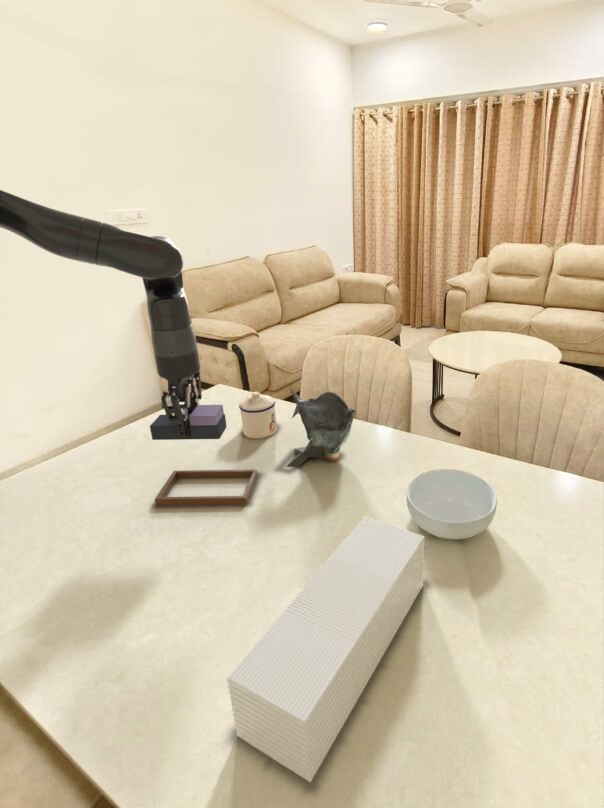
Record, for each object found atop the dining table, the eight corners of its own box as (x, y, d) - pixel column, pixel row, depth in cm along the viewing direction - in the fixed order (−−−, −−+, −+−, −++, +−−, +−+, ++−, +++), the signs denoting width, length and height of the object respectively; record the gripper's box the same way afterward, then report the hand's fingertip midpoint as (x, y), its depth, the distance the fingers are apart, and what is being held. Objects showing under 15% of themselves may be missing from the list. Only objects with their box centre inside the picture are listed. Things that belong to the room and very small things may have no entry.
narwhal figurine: (341, 483, 110) (337, 410, 103) (278, 472, 114) (271, 401, 108) (362, 451, 122) (360, 384, 116) (305, 442, 127) (300, 377, 120)
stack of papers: (310, 787, 56) (304, 722, 52) (237, 740, 60) (226, 677, 56) (423, 589, 82) (424, 536, 78) (366, 567, 86) (364, 516, 82)
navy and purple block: (219, 439, 96) (216, 415, 94) (152, 440, 96) (147, 416, 94) (226, 426, 101) (223, 404, 99) (162, 427, 101) (158, 405, 99)
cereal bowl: (392, 537, 93) (392, 506, 91) (423, 489, 107) (423, 461, 105) (482, 564, 87) (485, 531, 84) (502, 509, 101) (505, 479, 98)
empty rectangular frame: (156, 509, 102) (154, 499, 101) (175, 480, 112) (173, 470, 111) (247, 508, 102) (246, 497, 101) (258, 478, 112) (257, 469, 111)
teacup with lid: (278, 439, 129) (274, 398, 125) (242, 443, 127) (237, 402, 123) (276, 418, 140) (272, 380, 135) (243, 422, 138) (238, 383, 133)
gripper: (181, 362, 85) (196, 448, 92) (208, 336, 99) (219, 413, 105) (138, 362, 85) (155, 449, 92) (170, 337, 99) (183, 414, 105)
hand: (189, 430), depth 98 cm, fingers closed on navy and purple block, 5 cm apart
